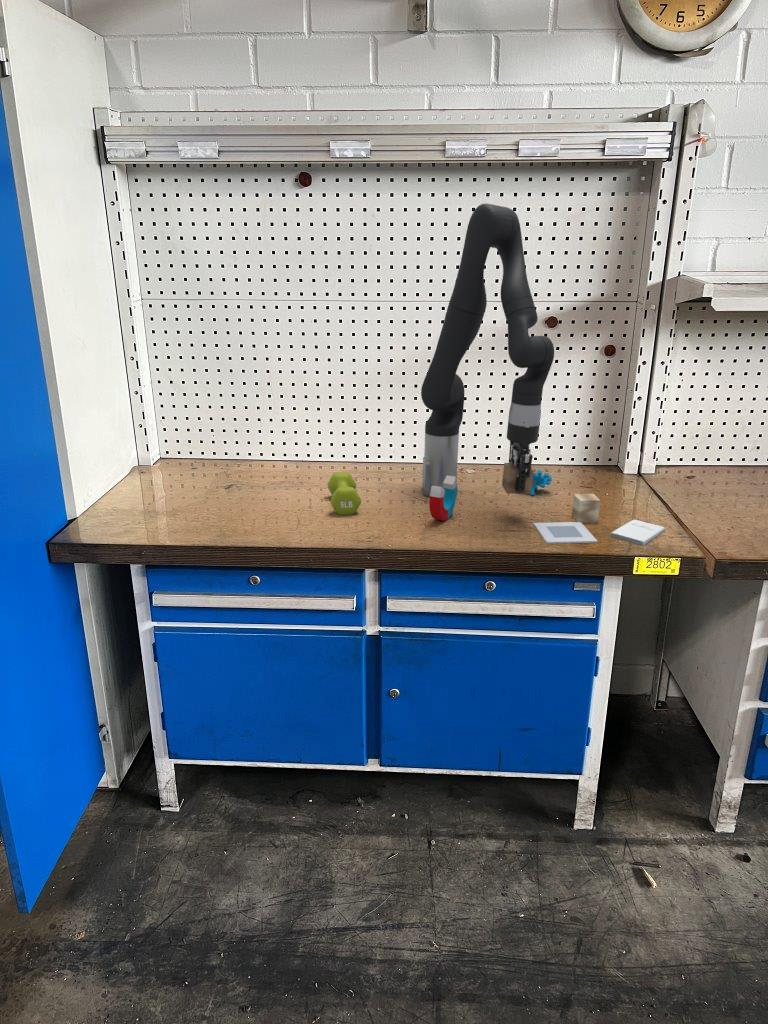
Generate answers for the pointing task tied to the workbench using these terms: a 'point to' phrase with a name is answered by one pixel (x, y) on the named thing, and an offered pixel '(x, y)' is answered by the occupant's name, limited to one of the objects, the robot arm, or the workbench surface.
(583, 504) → the maple block
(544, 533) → the white square plate
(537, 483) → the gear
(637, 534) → the external hard drive
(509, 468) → the walnut block
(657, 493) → the workbench surface
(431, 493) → the magnet
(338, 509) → the dumbbell
